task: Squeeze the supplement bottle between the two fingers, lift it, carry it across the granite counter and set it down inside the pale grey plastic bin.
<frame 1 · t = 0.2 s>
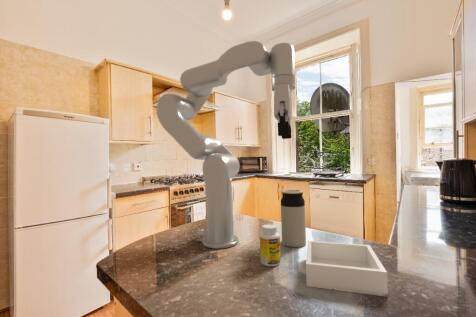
hand: (285, 137, 76), 36 cm above the countertop, tool pointing down, fingers open, 9 cm apart
supplement bottle: (270, 263, 66), on the countertop
travel mug: (293, 244, 80), on the countertop
bin: (341, 273, 58), on the countertop
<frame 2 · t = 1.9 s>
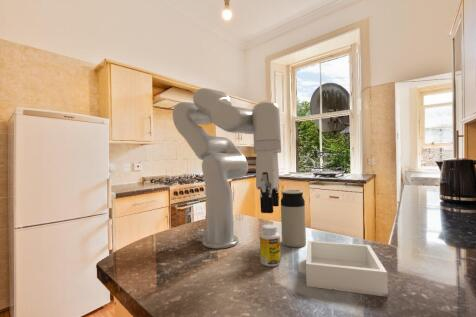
hand: (270, 209, 65), 15 cm above the countertop, tool pointing down, fingers open, 9 cm apart
nothing on the countertop moved.
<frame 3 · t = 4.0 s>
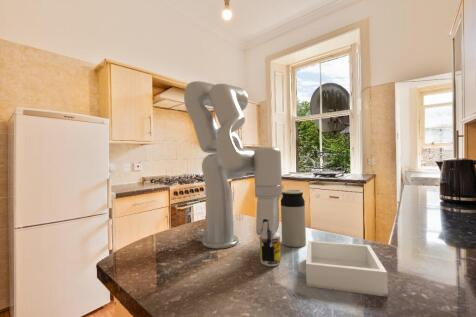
hand: (270, 255, 66), 2 cm above the countertop, tool pointing down, fingers closed on supplement bottle, 5 cm apart
supplement bottle: (270, 263, 66), on the countertop, touching gripper
everything else where it was.
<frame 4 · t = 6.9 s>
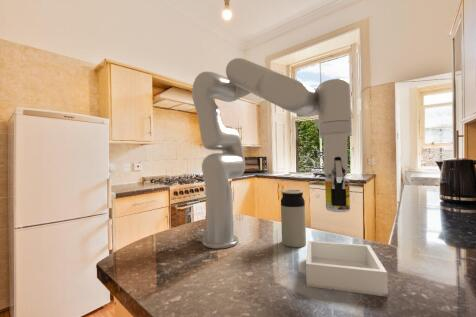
hand: (337, 202, 58), 18 cm above the countertop, tool pointing down, fingers closed on supplement bottle, 5 cm apart
supplement bottle: (337, 211, 58), point 15 cm above the countertop, touching gripper
everything else where it was.
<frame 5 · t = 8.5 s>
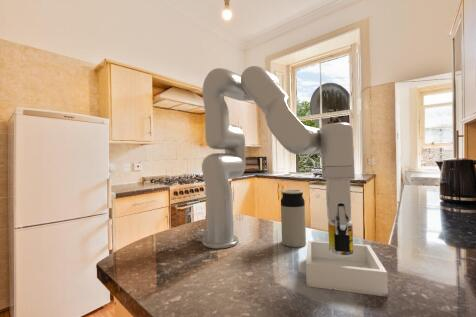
hand: (340, 245, 58), 7 cm above the countertop, tool pointing down, fingers closed on supplement bottle, 5 cm apart
supplement bottle: (341, 254, 58), point 5 cm above the countertop, touching gripper
everything else where it was.
when the fingers open (5 cm above the countertop, at t = 9.7 s): supplement bottle drops 2 cm, resting on bin.
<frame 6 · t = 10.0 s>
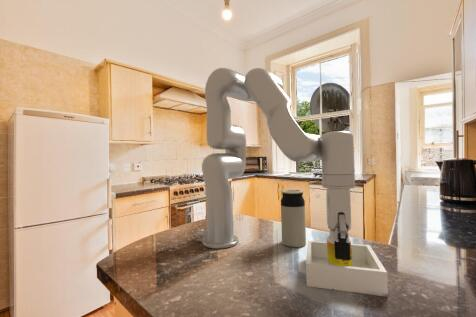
hand: (340, 251, 58), 6 cm above the countertop, tool pointing down, fingers open, 8 cm apart
supplement bottle: (340, 272, 58), resting on bin
everything else where it was.
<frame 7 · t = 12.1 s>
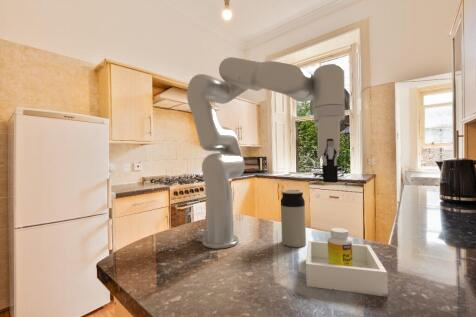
hand: (329, 180, 61), 23 cm above the countertop, tool pointing down, fingers open, 9 cm apart
nothing on the countertop moved.
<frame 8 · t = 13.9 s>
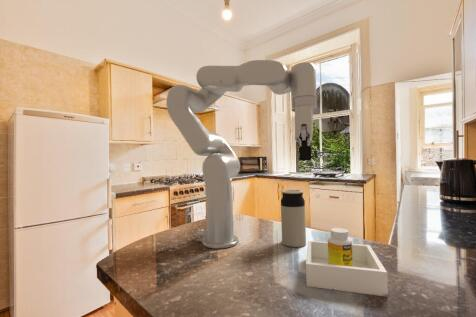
hand: (305, 160, 72), 28 cm above the countertop, tool pointing down, fingers open, 9 cm apart
nothing on the countertop moved.
at the end: supplement bottle inside the target area on the bin (0.2 cm from its centre), point 0.4 cm above the bin's base; supplement bottle tilted 0°; the gripper is holding nothing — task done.
